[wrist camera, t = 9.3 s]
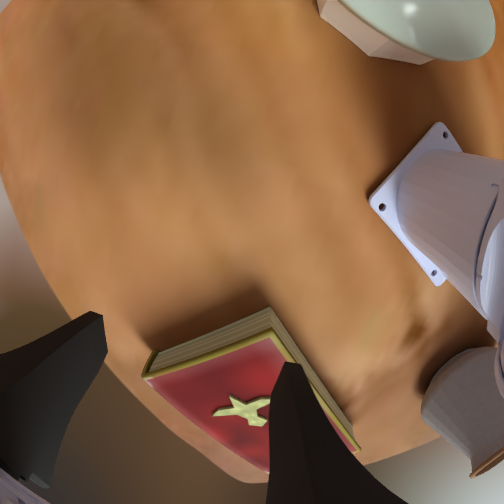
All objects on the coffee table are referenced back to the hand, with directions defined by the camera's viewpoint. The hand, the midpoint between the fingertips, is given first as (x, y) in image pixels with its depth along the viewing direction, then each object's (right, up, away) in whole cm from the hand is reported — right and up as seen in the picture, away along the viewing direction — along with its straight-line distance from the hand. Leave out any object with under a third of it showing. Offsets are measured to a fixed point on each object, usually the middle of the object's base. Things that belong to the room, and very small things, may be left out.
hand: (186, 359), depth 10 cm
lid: (+11, +19, -3) cm, 22 cm away
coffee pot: (+30, -8, +12) cm, 33 cm away
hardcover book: (+4, -10, +15) cm, 19 cm away
